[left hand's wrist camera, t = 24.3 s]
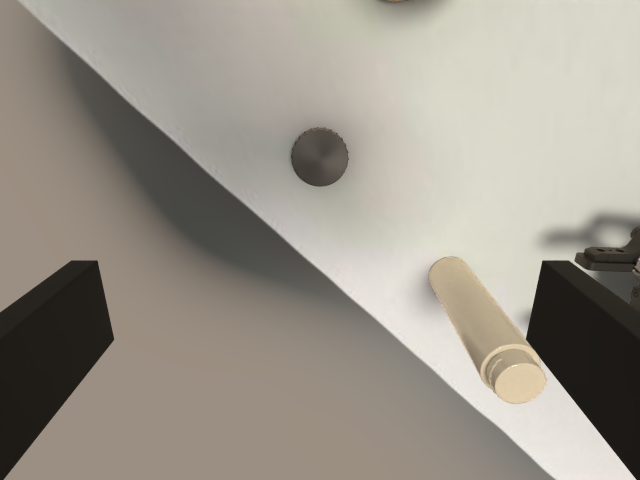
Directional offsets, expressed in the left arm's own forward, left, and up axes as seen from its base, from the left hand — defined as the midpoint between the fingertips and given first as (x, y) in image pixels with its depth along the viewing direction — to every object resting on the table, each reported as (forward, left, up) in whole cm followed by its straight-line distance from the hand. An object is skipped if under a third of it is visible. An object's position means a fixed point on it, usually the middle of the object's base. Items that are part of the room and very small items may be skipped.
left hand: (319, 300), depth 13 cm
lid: (0, 0, -26) cm, 26 cm away
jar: (+18, 0, -27) cm, 33 cm away
